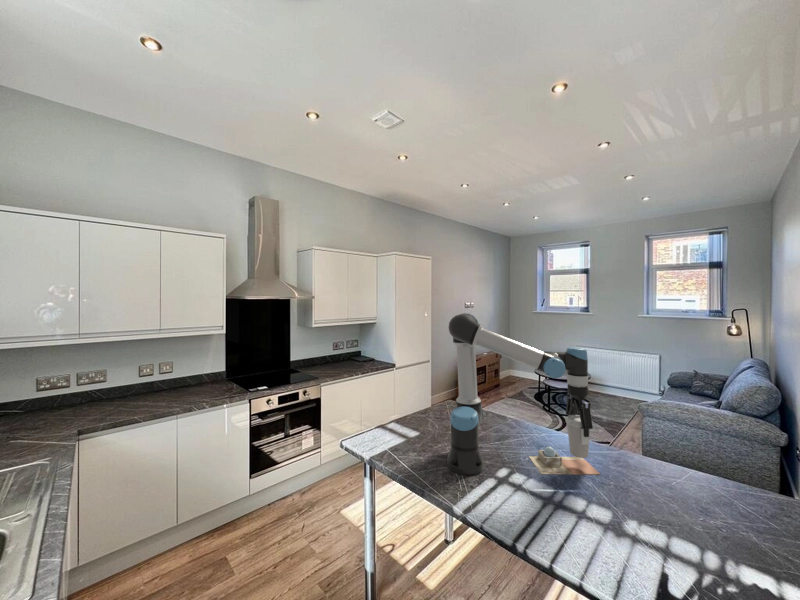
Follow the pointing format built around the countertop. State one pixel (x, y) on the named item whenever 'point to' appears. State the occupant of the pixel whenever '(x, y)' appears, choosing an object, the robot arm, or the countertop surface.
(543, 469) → the board
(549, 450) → the dome
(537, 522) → the countertop surface
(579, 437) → the coffee cup
